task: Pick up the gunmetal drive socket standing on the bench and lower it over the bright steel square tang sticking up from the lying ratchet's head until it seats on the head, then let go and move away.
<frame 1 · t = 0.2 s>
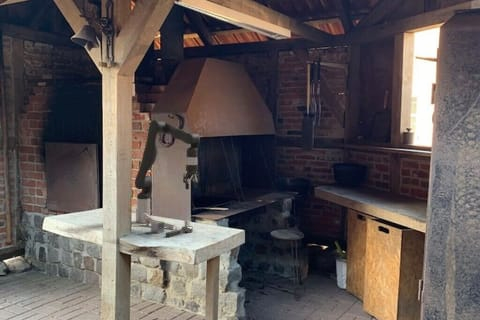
hand: (191, 188, 290), 29 cm above the table, tool pointing down, fingers open, 8 cm apart
socket: (157, 231, 288), on the table
wrench: (158, 227, 303), on the table
ratchet: (187, 231, 291), on the table
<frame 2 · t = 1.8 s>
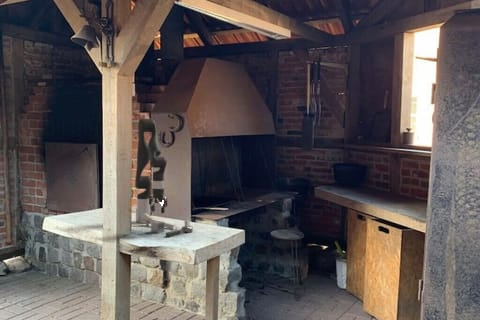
hand: (157, 212, 287), 13 cm above the table, tool pointing down, fingers open, 8 cm apart
nothing on the table moved.
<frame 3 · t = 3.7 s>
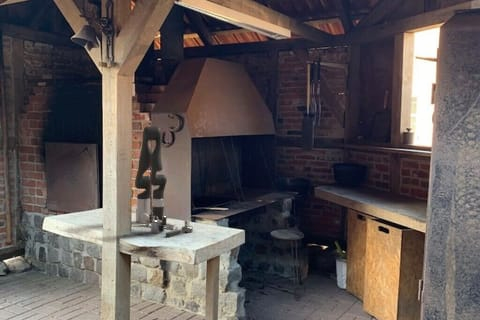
hand: (157, 230, 288), 1 cm above the table, tool pointing down, fingers closed on socket, 6 cm apart
socket: (157, 231, 288), on the table, touching gripper
everything else where it was.
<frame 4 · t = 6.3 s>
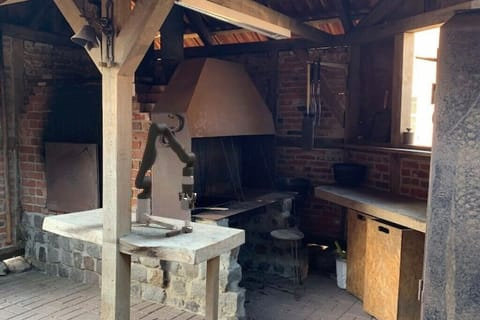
hand: (187, 208, 290), 16 cm above the table, tool pointing down, fingers closed on socket, 6 cm apart
socket: (187, 209, 290), point 15 cm above the table, touching gripper
everything else where it was.
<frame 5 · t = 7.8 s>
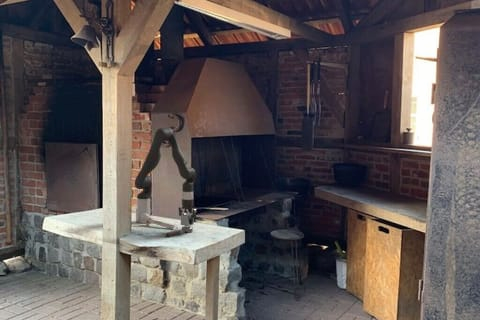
hand: (187, 223, 291), 5 cm above the table, tool pointing down, fingers closed on socket, 6 cm apart
socket: (187, 224, 291), point 5 cm above the table, touching gripper
everything else where it was.
when the fingers open (5 cm above the table, at t = 8.9 s): socket stays where it is, resting on ratchet.
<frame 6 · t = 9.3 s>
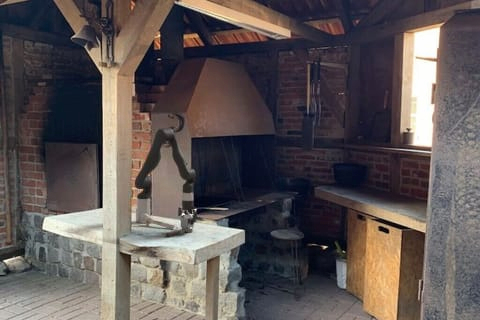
hand: (187, 223, 291), 5 cm above the table, tool pointing down, fingers open, 8 cm apart
socket: (187, 227, 291), point 3 cm above the table, touching ratchet
everything else where it was.
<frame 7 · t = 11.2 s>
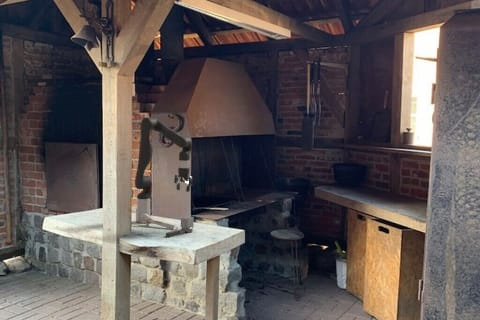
hand: (183, 190, 298), 26 cm above the table, tool pointing down, fingers open, 8 cm apart
nothing on the table moved.
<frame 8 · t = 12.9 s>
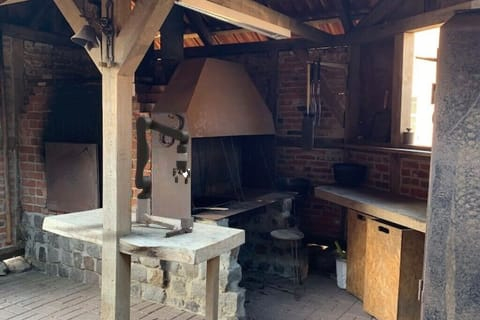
hand: (181, 183, 303), 30 cm above the table, tool pointing down, fingers open, 8 cm apart
nothing on the table moved.
at the end: socket 0.1 cm off-centre on the ratchet, point 3.0 cm above the ratchet's base; socket tilted 0°; the gripper is holding nothing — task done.
